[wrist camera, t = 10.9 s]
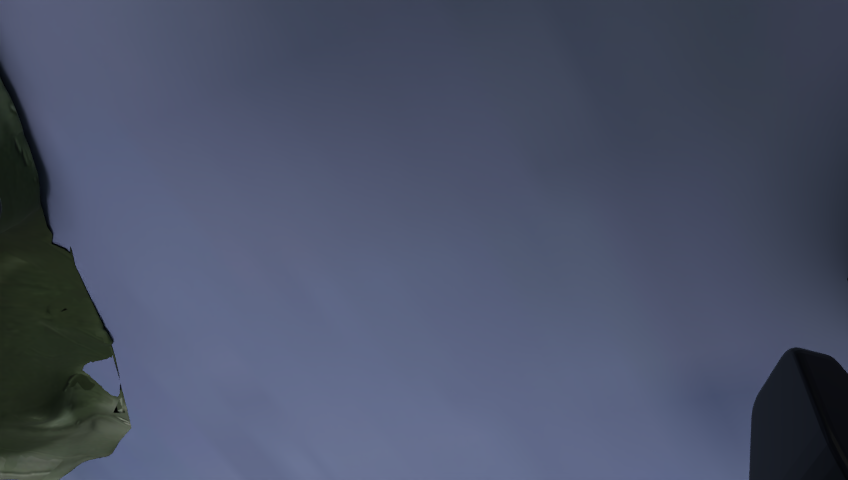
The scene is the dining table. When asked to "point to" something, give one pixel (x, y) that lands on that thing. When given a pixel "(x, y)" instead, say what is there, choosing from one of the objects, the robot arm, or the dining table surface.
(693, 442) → the dining table surface
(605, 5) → the dining table surface
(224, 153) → the dining table surface
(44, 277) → the rose bouquet
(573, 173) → the dining table surface
